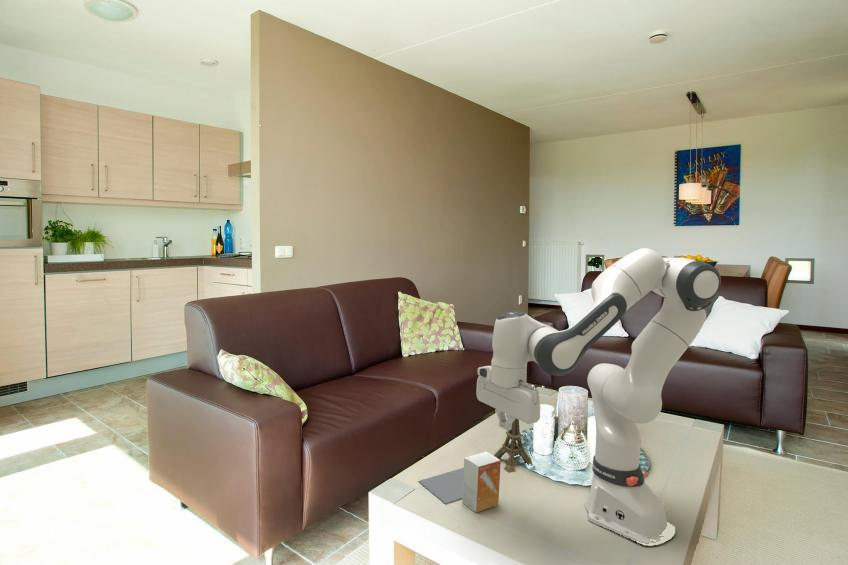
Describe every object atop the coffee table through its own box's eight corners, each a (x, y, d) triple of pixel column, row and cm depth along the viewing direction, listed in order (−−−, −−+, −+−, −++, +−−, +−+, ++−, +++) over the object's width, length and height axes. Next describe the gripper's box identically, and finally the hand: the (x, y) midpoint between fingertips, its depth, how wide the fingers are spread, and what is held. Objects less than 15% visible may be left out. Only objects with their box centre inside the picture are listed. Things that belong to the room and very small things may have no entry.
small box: (476, 513, 129) (478, 466, 128) (461, 502, 134) (463, 457, 133) (499, 505, 134) (501, 459, 132) (484, 494, 139) (486, 450, 138)
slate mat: (498, 486, 143) (498, 485, 143) (445, 504, 133) (445, 503, 133) (468, 467, 155) (468, 466, 155) (418, 481, 145) (418, 480, 145)
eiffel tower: (535, 466, 157) (540, 391, 154) (508, 473, 152) (512, 395, 150) (515, 453, 166) (519, 381, 164) (489, 458, 162) (493, 385, 159)
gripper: (548, 385, 116) (544, 441, 118) (491, 364, 133) (489, 413, 135) (528, 388, 113) (525, 446, 114) (473, 366, 130) (470, 417, 131)
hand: (505, 428), depth 124 cm, fingers closed
